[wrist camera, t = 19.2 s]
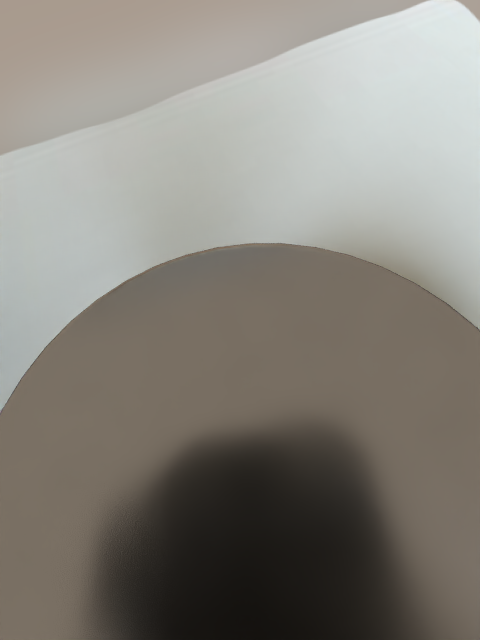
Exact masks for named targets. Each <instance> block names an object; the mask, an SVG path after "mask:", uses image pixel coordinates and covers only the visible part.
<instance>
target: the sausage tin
mask: <svg viewBox="0 0 480 640" xmlns="http://www.w3.org/2000/svg"><path fill="white" fill-rule="evenodd" d="M0 640H480V330H479V329H478V328H477V327H476V326H474V325H473V324H472V323H471V322H469V321H468V320H467V319H466V318H464V317H463V316H462V315H461V314H460V313H458V312H457V311H456V310H455V309H453V308H452V307H451V306H450V305H448V304H447V303H446V302H444V301H442V300H441V299H439V298H438V297H436V296H435V295H433V294H431V293H430V292H428V291H427V290H425V289H424V288H422V287H420V286H419V285H417V284H416V283H414V282H412V281H410V280H408V279H406V278H404V277H402V276H400V275H398V274H396V273H394V272H392V271H390V270H387V269H385V268H383V267H381V266H378V265H376V264H373V263H370V262H367V261H364V260H362V259H359V258H356V257H353V256H350V255H347V254H343V253H338V252H334V251H330V250H325V249H321V248H317V247H309V246H301V245H292V244H283V243H253V244H241V245H233V246H225V247H217V248H213V249H208V250H204V251H200V252H196V253H192V254H188V255H184V256H181V257H179V258H176V259H173V260H171V261H168V262H165V263H162V264H160V265H157V266H154V267H152V268H150V269H148V270H146V271H144V272H142V273H140V274H138V275H136V276H134V277H133V278H131V279H129V280H127V281H125V282H123V283H122V284H120V285H119V286H117V287H116V288H114V289H113V290H111V291H109V292H108V293H106V294H105V295H103V296H102V297H100V298H99V299H97V300H96V301H95V302H94V303H92V304H91V305H90V306H89V307H88V308H86V309H85V310H84V311H83V312H81V313H80V314H79V315H78V316H77V317H75V318H74V319H73V320H72V321H71V322H70V323H69V324H68V325H67V326H66V327H65V328H64V329H63V330H62V331H61V332H60V333H59V334H58V335H57V336H56V337H55V338H54V339H53V340H52V341H51V342H50V343H49V344H48V345H47V346H46V347H45V349H44V350H43V351H42V352H41V354H40V355H39V356H38V357H37V359H36V360H35V361H34V363H33V364H32V365H31V366H30V368H29V369H28V370H27V372H26V373H25V374H24V375H23V377H22V378H21V380H20V382H19V383H18V385H17V386H16V388H15V390H14V391H13V393H12V394H11V396H10V398H9V399H8V401H7V402H6V404H5V406H4V407H3V409H2V411H1V413H0Z"/></svg>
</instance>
